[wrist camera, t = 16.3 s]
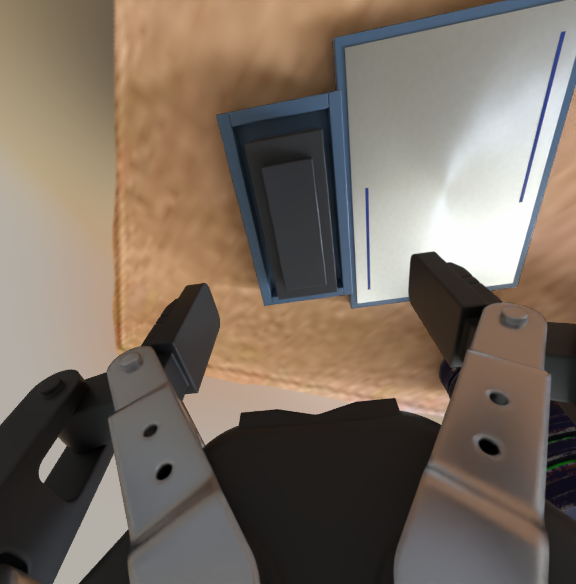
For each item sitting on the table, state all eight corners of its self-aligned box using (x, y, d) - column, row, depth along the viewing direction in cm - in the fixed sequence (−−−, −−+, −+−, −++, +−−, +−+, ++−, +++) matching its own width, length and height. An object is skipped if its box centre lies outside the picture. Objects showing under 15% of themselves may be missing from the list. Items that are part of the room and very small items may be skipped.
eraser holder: (224, 115, 20) (215, 114, 18) (335, 92, 19) (341, 89, 17) (266, 290, 28) (264, 306, 25) (347, 279, 27) (353, 294, 25)
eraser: (251, 139, 20) (241, 145, 16) (316, 127, 19) (324, 129, 15) (280, 276, 26) (278, 307, 21) (331, 269, 25) (339, 298, 21)
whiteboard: (331, 41, 18) (334, 37, 17) (590, -16, 17) (609, -24, 16) (349, 303, 28) (351, 309, 27) (510, 281, 27) (518, 287, 26)
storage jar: (500, 316, 29) (666, 473, 16) (548, 361, 32) (718, 522, 19) (419, 370, 33) (501, 530, 20) (469, 405, 36) (566, 562, 23)
